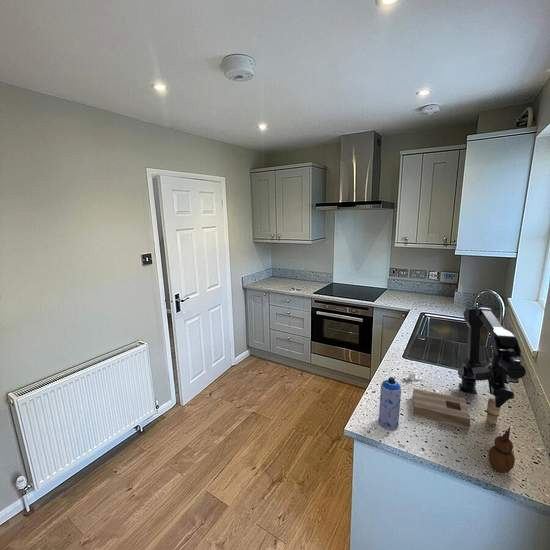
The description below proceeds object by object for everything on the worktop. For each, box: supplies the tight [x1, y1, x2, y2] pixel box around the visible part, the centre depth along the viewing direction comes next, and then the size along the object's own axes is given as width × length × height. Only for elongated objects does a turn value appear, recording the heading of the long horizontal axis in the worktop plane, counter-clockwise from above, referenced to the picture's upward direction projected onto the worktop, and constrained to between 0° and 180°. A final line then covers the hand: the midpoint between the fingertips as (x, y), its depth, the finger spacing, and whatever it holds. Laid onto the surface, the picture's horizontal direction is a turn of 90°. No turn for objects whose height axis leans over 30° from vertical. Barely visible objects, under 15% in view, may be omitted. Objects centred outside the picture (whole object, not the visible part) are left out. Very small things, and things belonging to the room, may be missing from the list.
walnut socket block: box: [412, 387, 471, 430], centre depth 125 cm, size 14×20×4 cm
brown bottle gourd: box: [487, 427, 516, 474], centre depth 96 cm, size 7×6×15 cm
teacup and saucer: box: [406, 371, 423, 385], centre depth 149 cm, size 9×8×4 cm
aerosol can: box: [377, 376, 402, 431], centre depth 117 cm, size 8×8×20 cm
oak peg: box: [485, 397, 501, 425], centre depth 118 cm, size 4×4×9 cm
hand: (494, 400), depth 118 cm, fingers open, 9 cm apart
